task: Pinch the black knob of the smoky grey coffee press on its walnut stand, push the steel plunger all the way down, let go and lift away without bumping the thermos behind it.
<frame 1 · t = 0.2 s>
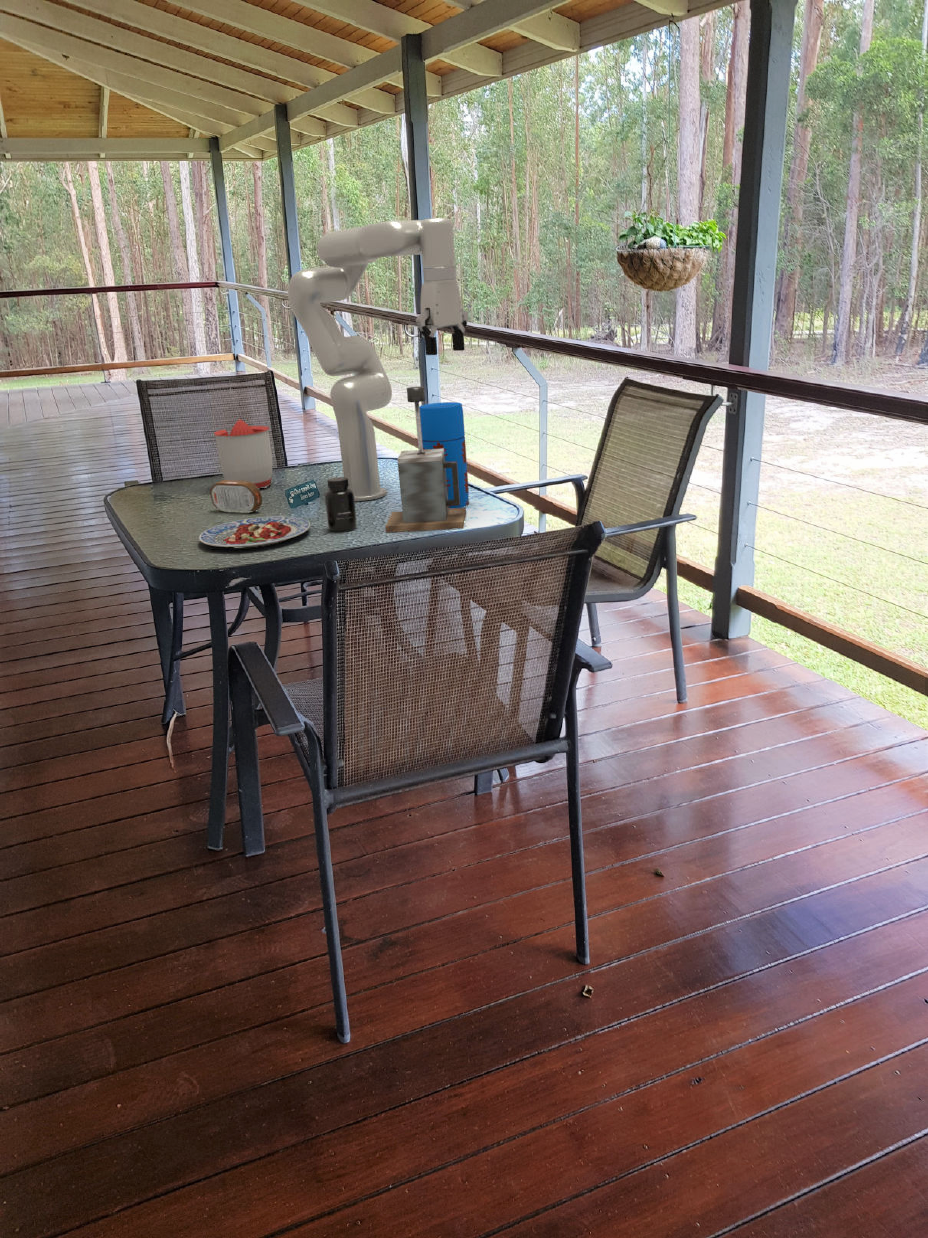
hand: (445, 352, 228), 38 cm above the table, tool pointing down, fingers open, 9 cm apart
tin: (238, 513, 254), on the table
plunger: (419, 432, 221), point 21 cm above the table, slide at 0.0 cm
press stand: (427, 522, 229), on the table
ceramic plate: (256, 539, 227), on the table
supplement bottle: (343, 529, 229), on the table
thermos: (448, 505, 244), on the table
citrus juicer: (249, 488, 283), on the table
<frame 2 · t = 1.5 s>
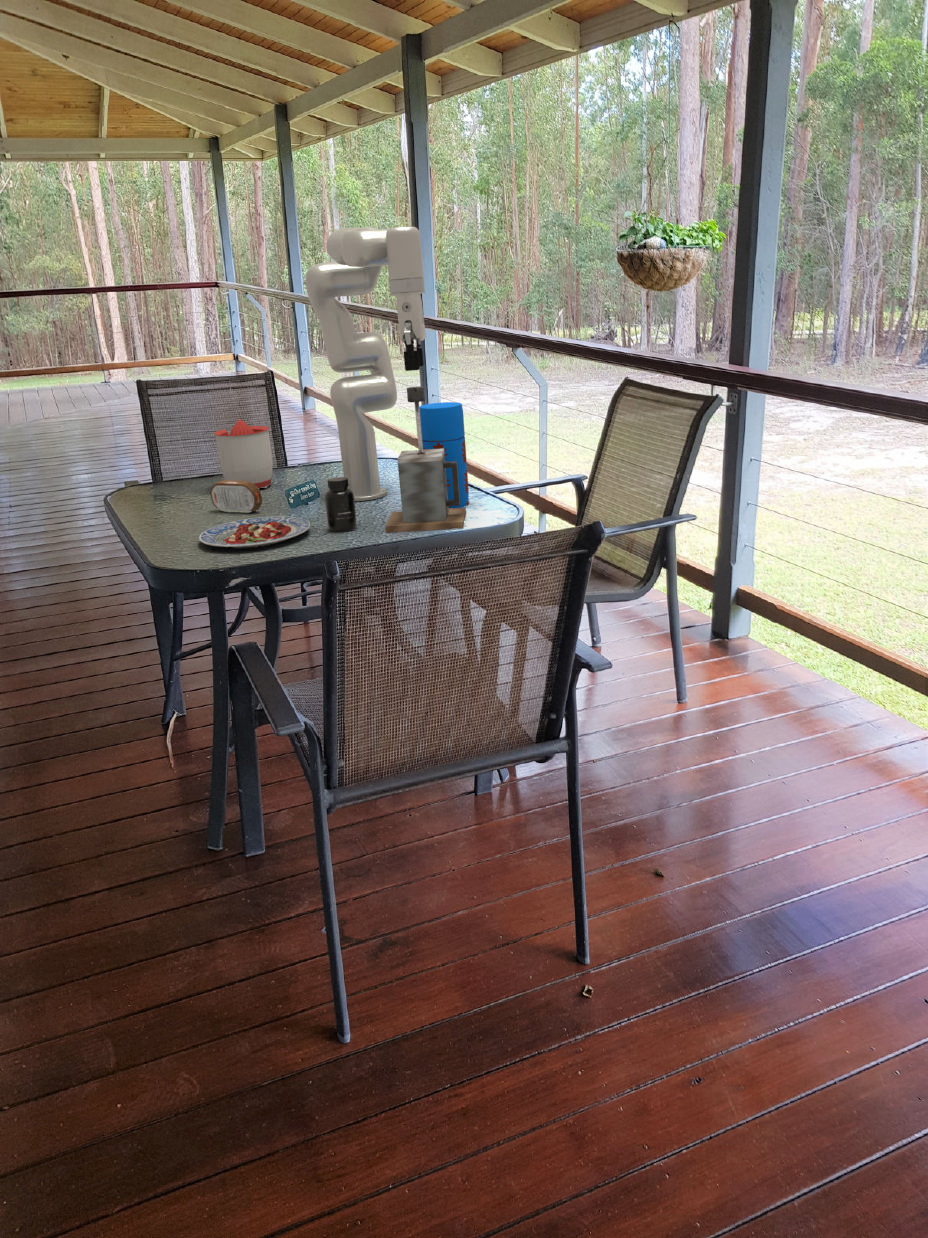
hand: (414, 368, 216), 36 cm above the table, tool pointing down, fingers open, 9 cm apart
nothing on the table moved.
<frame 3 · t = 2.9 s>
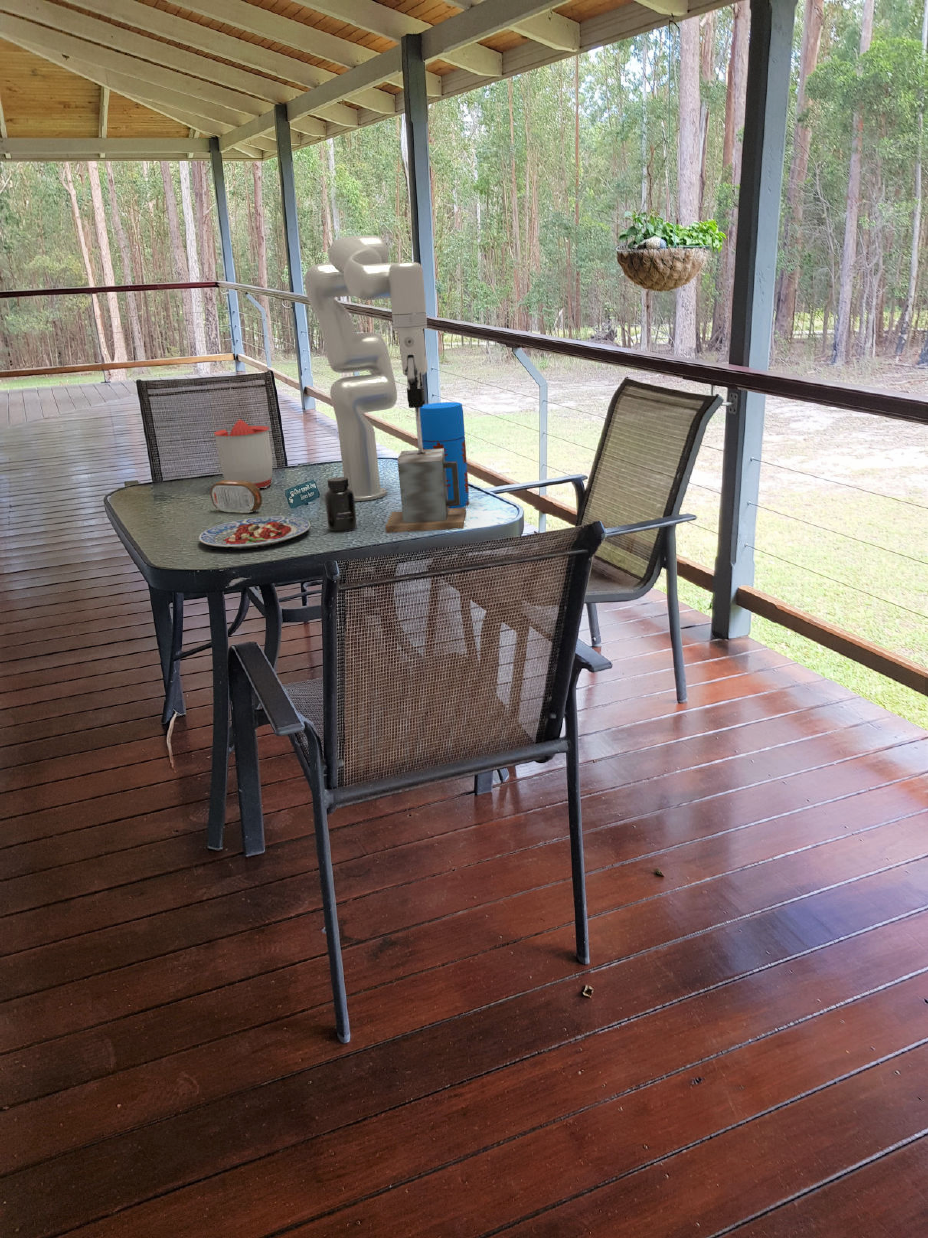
hand: (416, 405, 219), 28 cm above the table, tool pointing down, fingers closed on plunger, 4 cm apart
plunger: (419, 433, 221), point 21 cm above the table, slide at 0.0 cm, touching gripper
everything else where it was.
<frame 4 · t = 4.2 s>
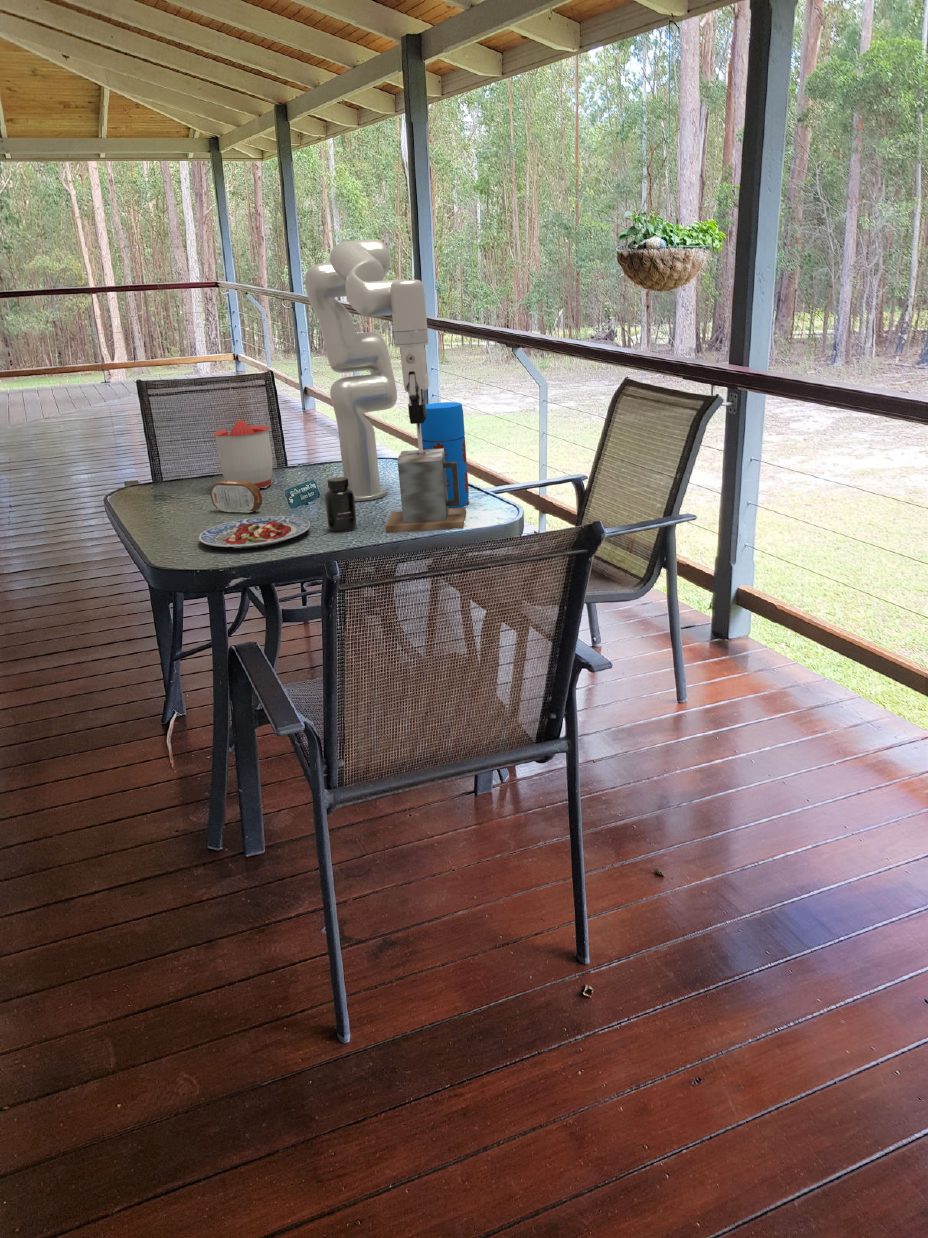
hand: (418, 420, 220), 24 cm above the table, tool pointing down, fingers closed on plunger, 4 cm apart
plunger: (420, 448, 222), point 18 cm above the table, slide at 3.6 cm, touching gripper
everything else where it was.
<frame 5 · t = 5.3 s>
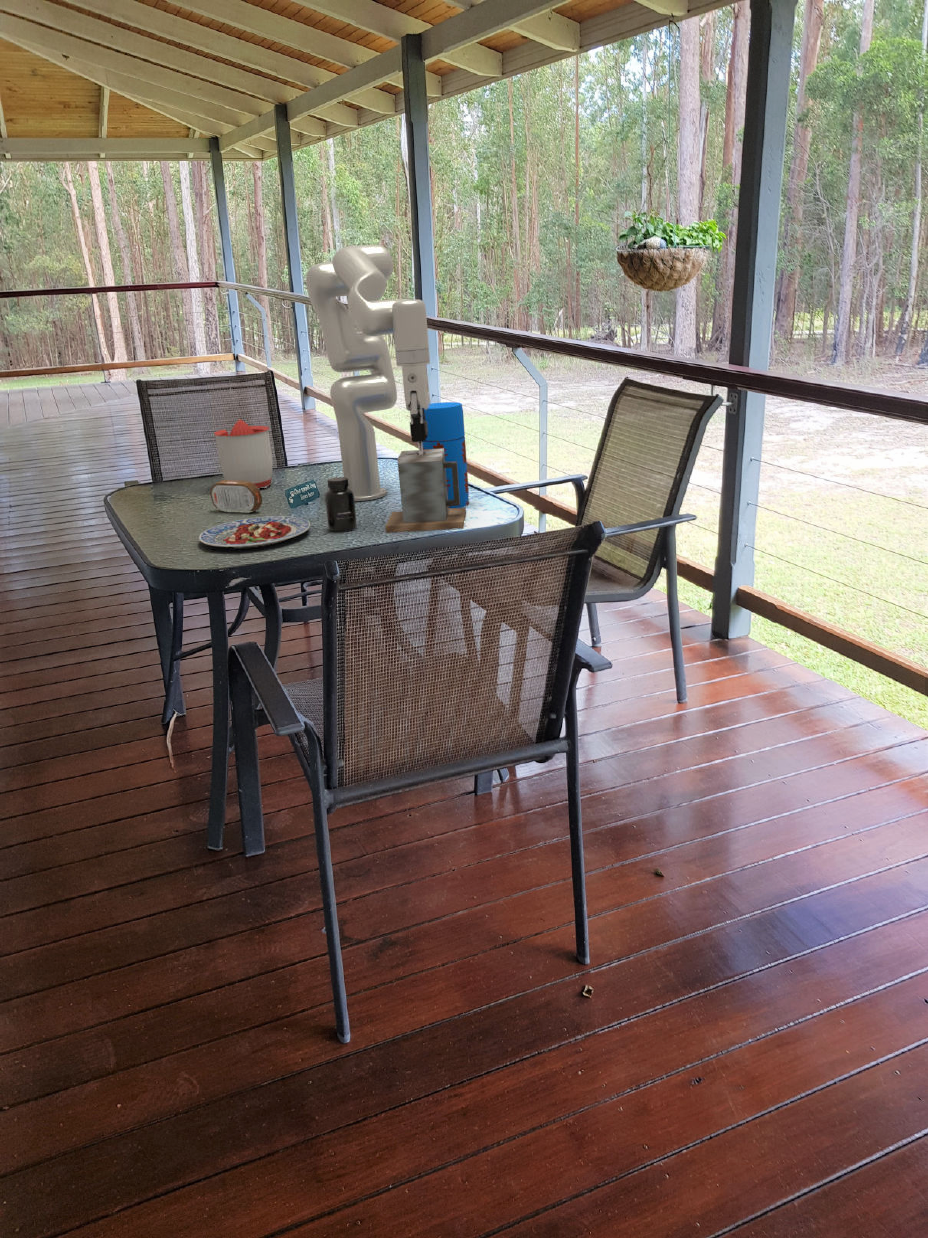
hand: (419, 438, 222), 20 cm above the table, tool pointing down, fingers closed on plunger, 4 cm apart
plunger: (422, 466, 224), point 14 cm above the table, slide at 7.7 cm, touching gripper
everything else where it was.
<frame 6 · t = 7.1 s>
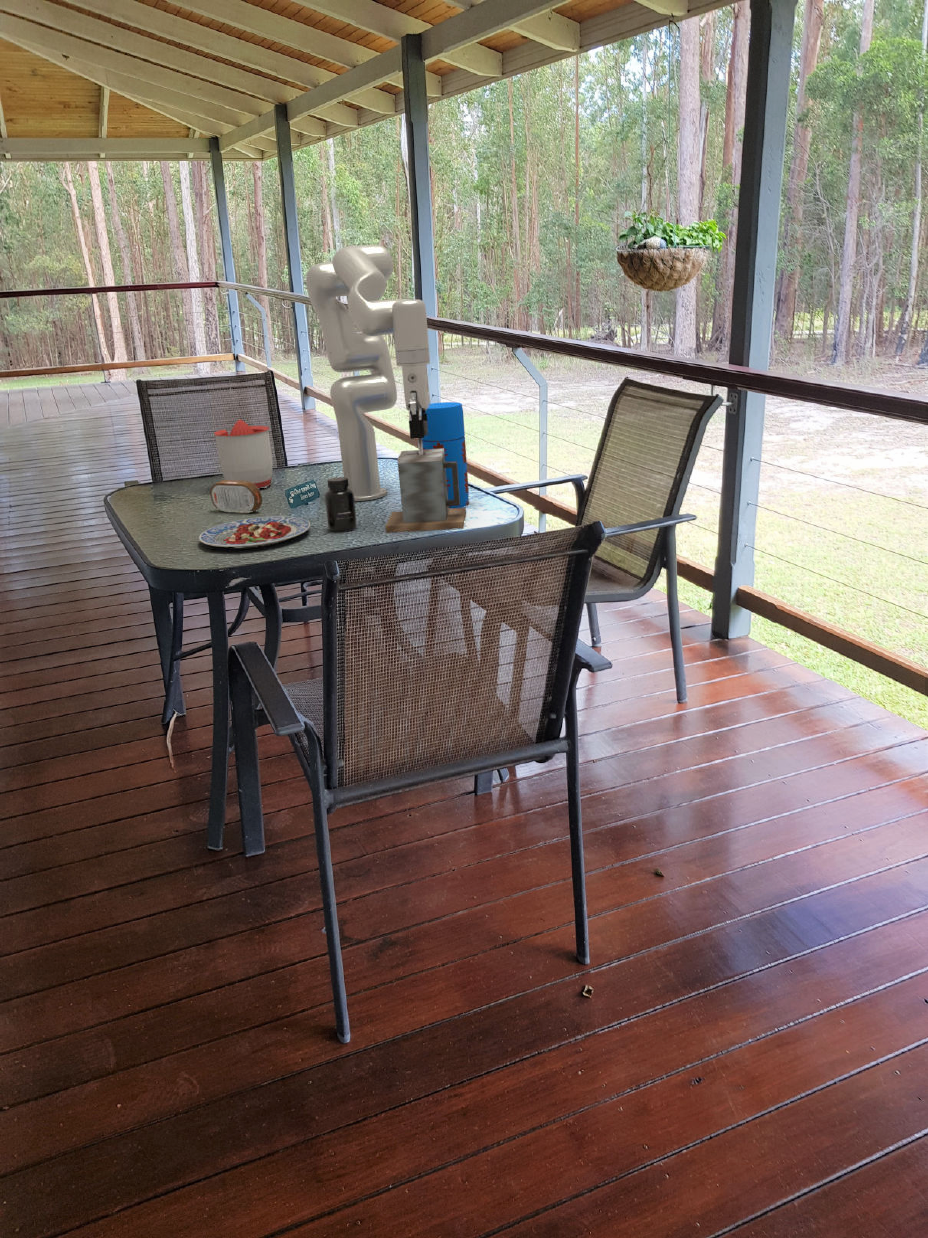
hand: (419, 434, 221), 21 cm above the table, tool pointing down, fingers open, 9 cm apart
plunger: (422, 466, 224), point 14 cm above the table, slide at 7.7 cm
everything else where it was.
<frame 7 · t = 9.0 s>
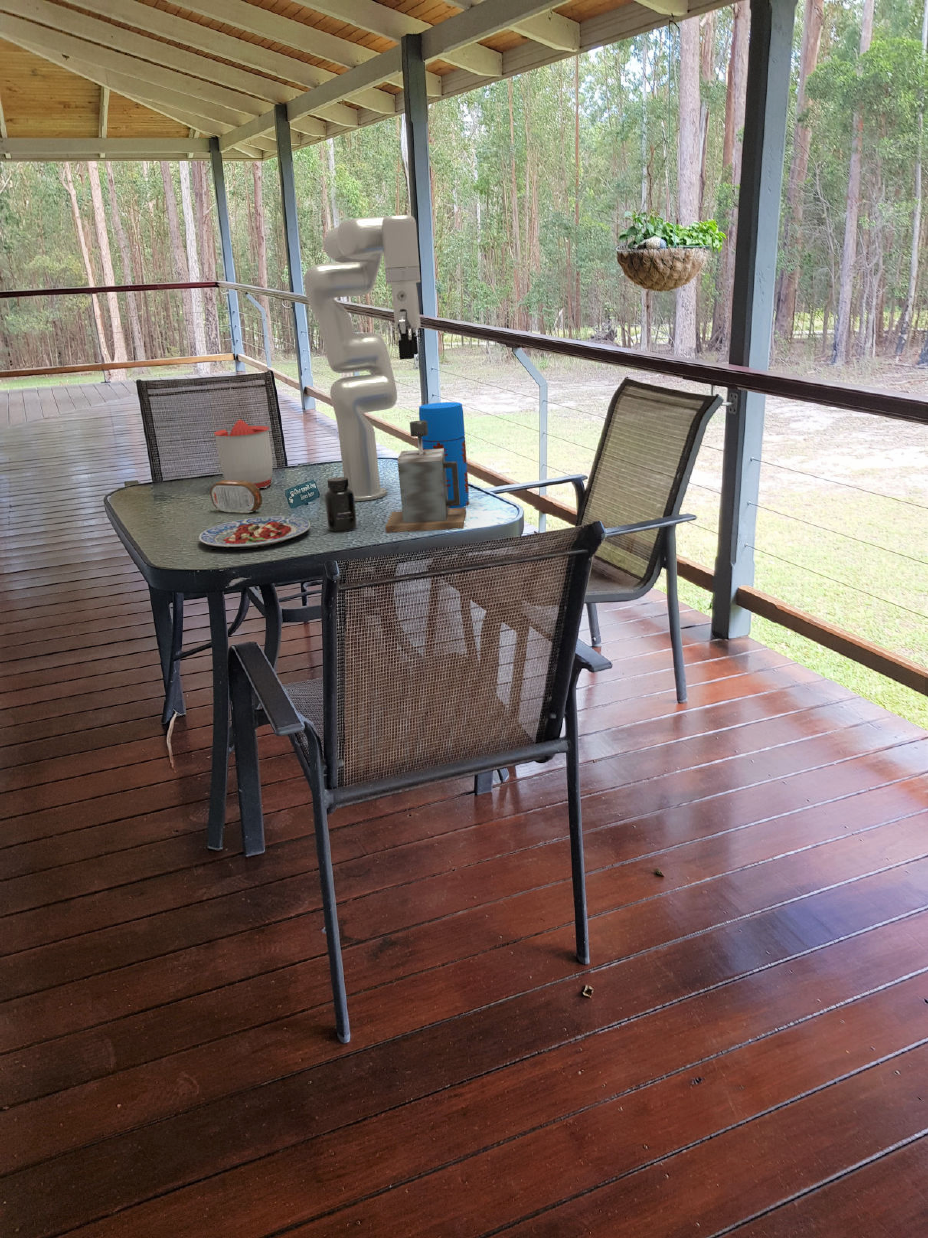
hand: (409, 356, 217), 38 cm above the table, tool pointing down, fingers open, 9 cm apart
nothing on the table moved.
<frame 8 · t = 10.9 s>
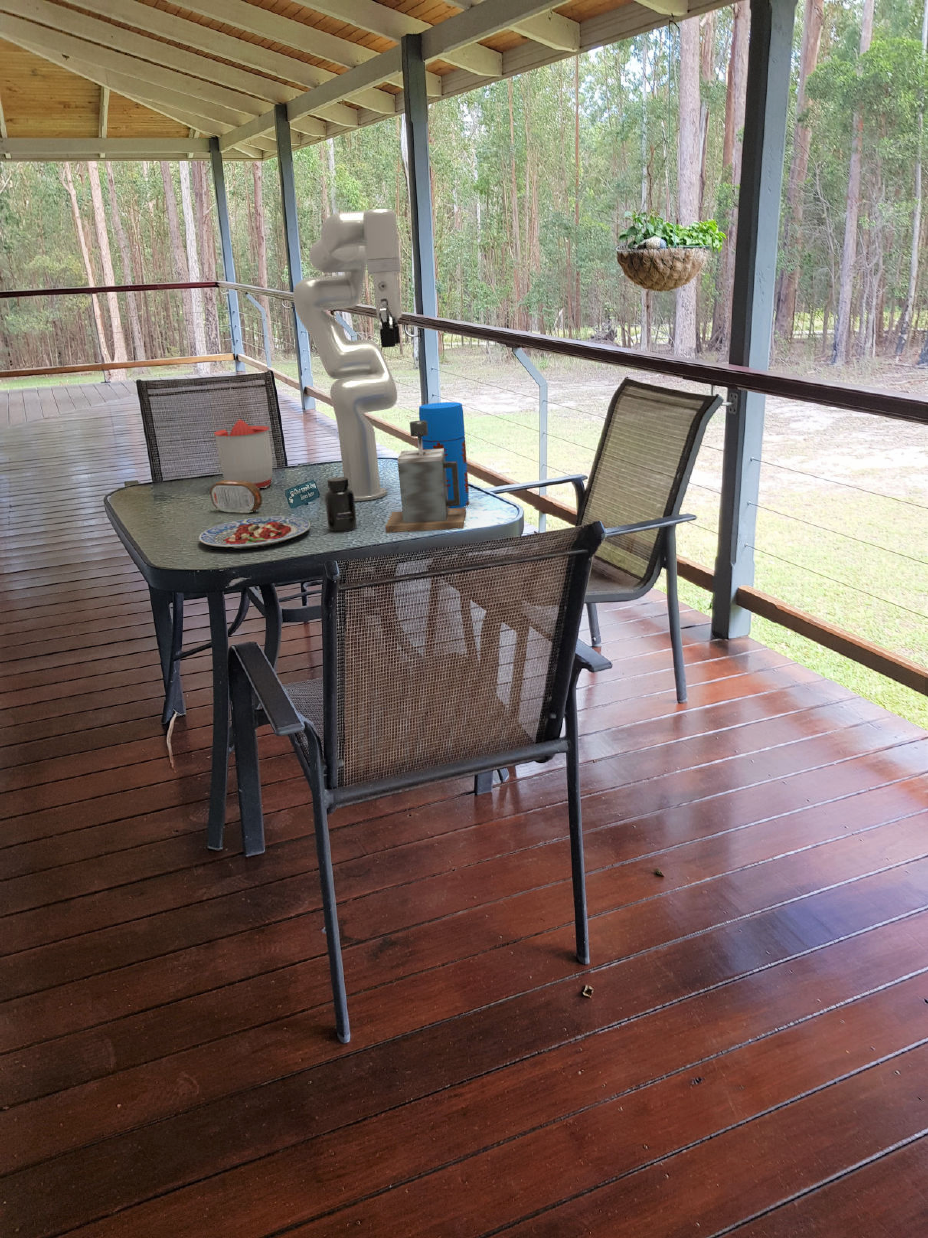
hand: (391, 345, 225), 40 cm above the table, tool pointing down, fingers open, 9 cm apart
nothing on the table moved.
at the end: plunger slide at 7.7 cm; the gripper is holding nothing; thermos moved 0.2 cm from its start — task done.
